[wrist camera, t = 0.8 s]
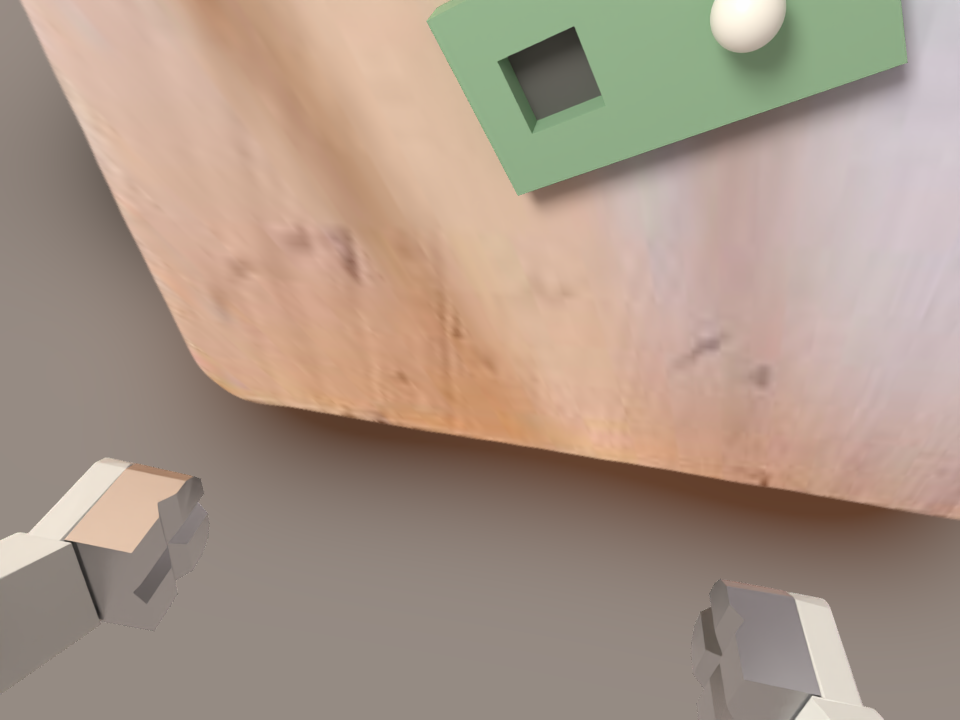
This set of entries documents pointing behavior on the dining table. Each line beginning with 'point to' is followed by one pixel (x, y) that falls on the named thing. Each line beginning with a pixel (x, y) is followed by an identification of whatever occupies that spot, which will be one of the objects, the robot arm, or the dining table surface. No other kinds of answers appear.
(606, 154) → the green board
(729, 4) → the ball
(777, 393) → the dining table surface
